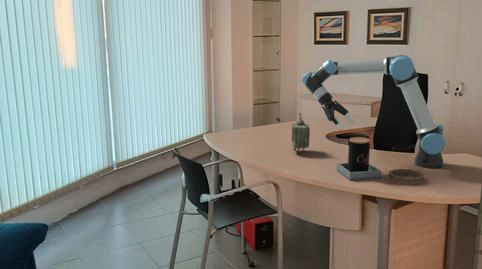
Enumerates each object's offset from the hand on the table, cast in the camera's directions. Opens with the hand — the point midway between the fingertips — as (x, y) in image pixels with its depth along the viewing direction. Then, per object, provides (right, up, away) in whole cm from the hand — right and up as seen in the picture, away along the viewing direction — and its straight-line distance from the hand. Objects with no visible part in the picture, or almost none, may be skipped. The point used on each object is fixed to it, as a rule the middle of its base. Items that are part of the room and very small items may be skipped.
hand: (347, 126), depth 256 cm
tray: (+4, -25, -5) cm, 26 cm away
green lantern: (-21, -16, +38) cm, 46 cm away
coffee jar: (+4, -25, -5) cm, 25 cm away
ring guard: (+27, -27, -13) cm, 40 cm away
